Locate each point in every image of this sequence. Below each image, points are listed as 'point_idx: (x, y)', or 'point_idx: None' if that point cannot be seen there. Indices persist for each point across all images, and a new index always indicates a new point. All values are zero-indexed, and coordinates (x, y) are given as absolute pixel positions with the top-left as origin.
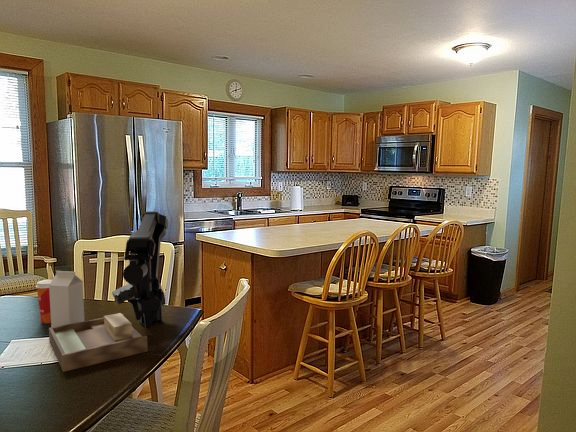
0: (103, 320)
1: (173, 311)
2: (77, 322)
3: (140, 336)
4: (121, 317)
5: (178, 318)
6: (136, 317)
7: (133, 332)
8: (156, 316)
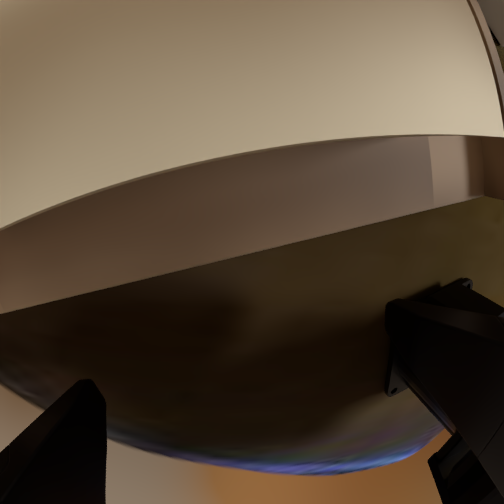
0: None
1: None
2: (491, 5)
3: (3, 299)
4: (299, 67)
5: (389, 430)
6: (404, 313)
7: (103, 244)
8: (418, 390)
